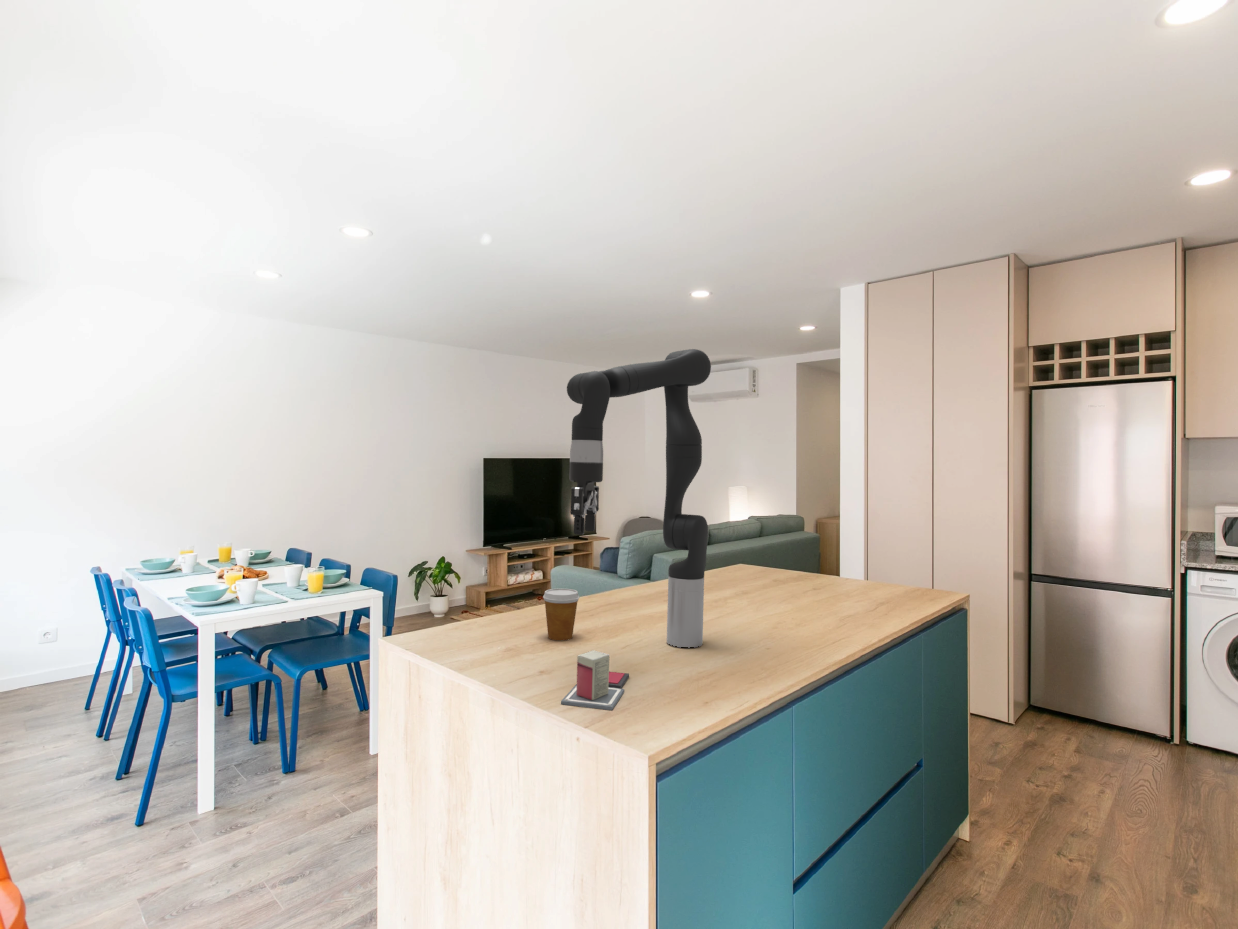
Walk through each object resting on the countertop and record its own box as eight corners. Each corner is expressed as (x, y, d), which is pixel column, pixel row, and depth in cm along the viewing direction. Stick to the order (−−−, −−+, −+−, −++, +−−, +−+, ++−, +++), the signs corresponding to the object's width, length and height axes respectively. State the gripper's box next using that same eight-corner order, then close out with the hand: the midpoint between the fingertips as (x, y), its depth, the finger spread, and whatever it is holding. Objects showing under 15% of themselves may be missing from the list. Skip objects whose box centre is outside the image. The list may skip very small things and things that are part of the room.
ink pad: (593, 673, 139) (593, 668, 139) (629, 677, 137) (629, 672, 137) (582, 685, 131) (582, 680, 131) (620, 689, 129) (620, 684, 129)
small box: (592, 688, 128) (593, 649, 128) (609, 694, 125) (610, 653, 125) (575, 695, 124) (576, 655, 124) (592, 701, 121) (593, 659, 121)
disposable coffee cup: (581, 633, 171) (582, 589, 171) (575, 643, 162) (576, 596, 162) (546, 631, 172) (547, 587, 172) (538, 641, 163) (539, 594, 163)
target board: (576, 686, 131) (576, 683, 131) (624, 692, 128) (624, 688, 128) (560, 704, 121) (561, 700, 121) (612, 710, 119) (612, 706, 119)
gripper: (594, 460, 136) (591, 536, 136) (610, 461, 150) (608, 530, 150) (560, 460, 138) (558, 535, 138) (579, 460, 152) (577, 529, 152)
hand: (584, 532), depth 144 cm, fingers open, 8 cm apart
